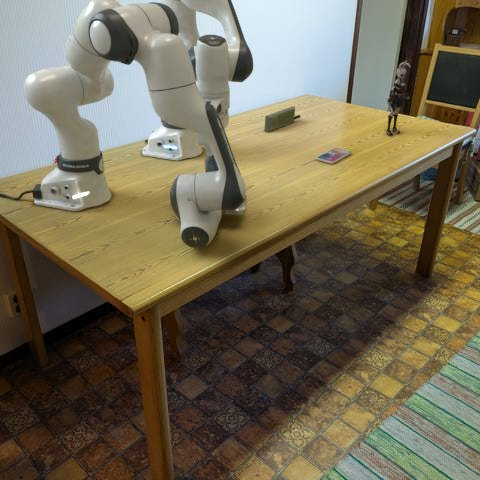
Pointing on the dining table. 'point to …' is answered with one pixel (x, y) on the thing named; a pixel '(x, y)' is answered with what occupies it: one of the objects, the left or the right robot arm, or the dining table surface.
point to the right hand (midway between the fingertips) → (213, 150)
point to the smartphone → (333, 155)
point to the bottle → (210, 164)
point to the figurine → (397, 97)
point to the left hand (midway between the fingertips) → (214, 189)
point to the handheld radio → (280, 119)
